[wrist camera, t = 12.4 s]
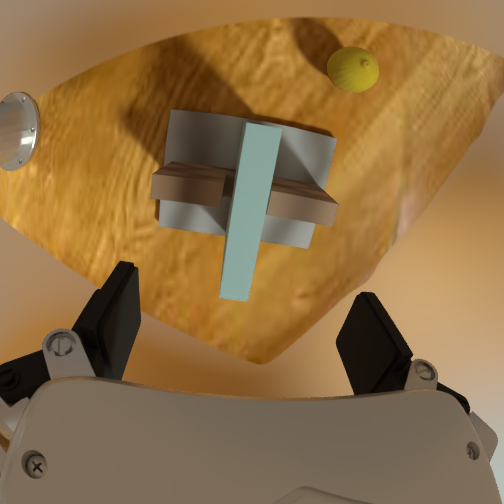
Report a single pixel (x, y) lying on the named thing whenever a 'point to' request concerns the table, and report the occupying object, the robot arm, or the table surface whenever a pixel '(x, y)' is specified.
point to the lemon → (352, 69)
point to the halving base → (225, 153)
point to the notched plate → (248, 208)
